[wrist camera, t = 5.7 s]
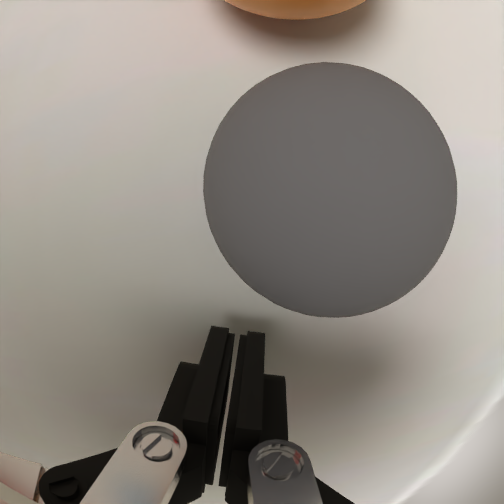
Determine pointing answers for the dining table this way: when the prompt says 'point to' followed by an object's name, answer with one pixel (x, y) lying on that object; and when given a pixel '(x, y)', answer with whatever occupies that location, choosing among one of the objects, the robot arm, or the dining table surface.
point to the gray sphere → (330, 189)
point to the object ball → (295, 7)
